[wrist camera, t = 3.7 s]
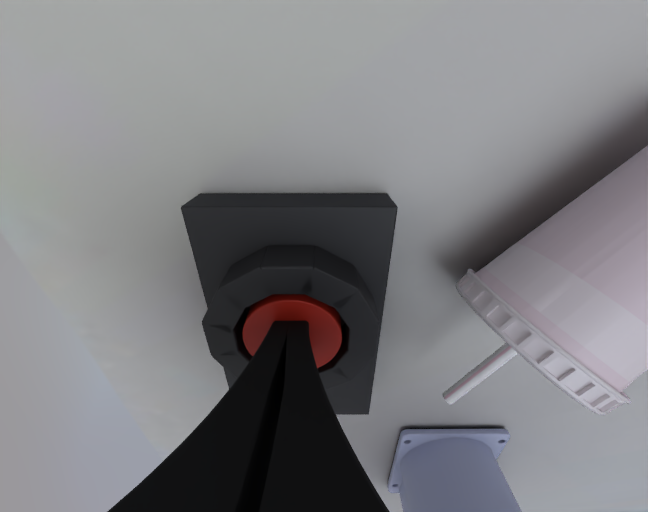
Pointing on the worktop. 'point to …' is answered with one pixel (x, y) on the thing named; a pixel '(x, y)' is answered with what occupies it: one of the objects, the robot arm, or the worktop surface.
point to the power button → (295, 308)
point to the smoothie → (573, 294)
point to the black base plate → (296, 273)
